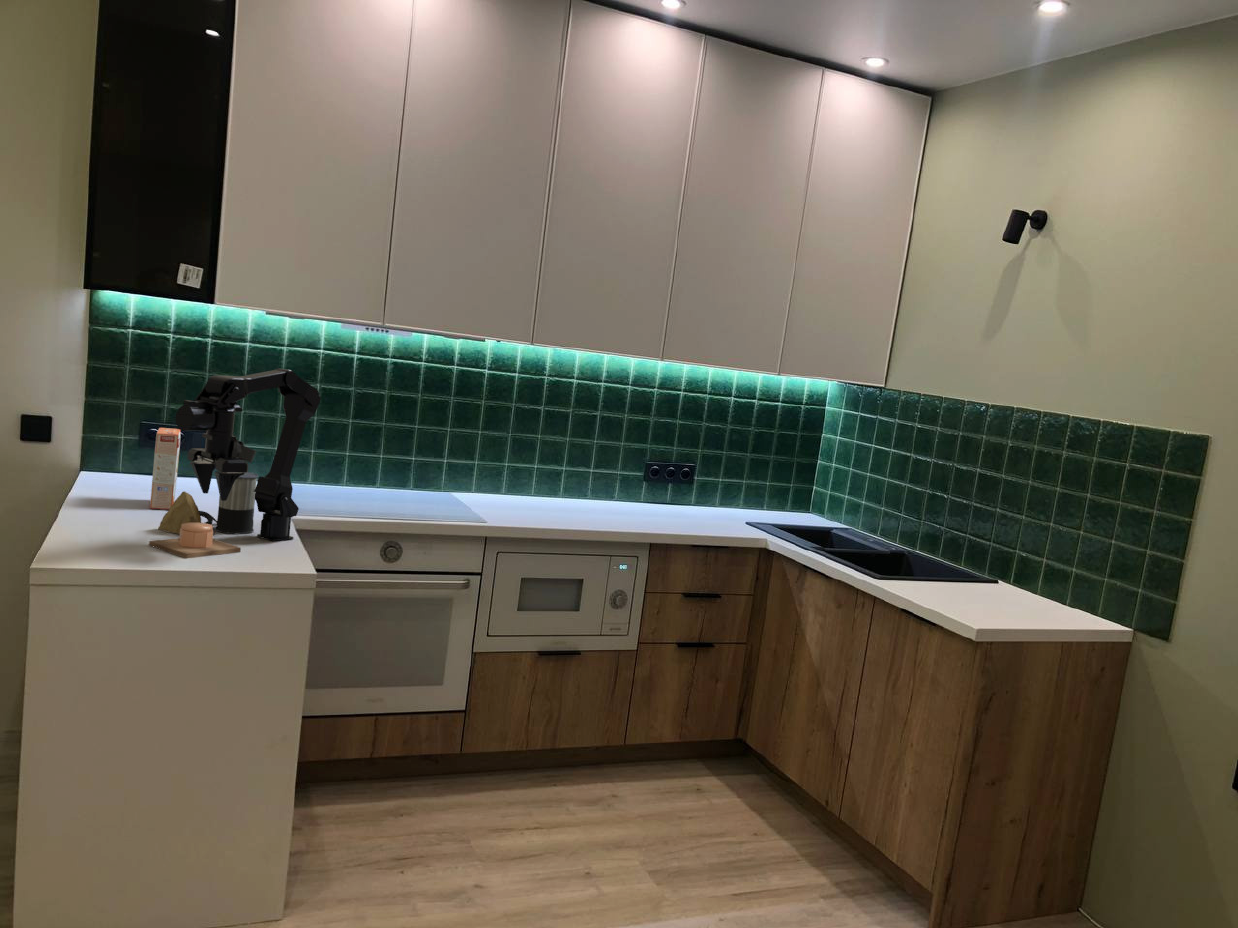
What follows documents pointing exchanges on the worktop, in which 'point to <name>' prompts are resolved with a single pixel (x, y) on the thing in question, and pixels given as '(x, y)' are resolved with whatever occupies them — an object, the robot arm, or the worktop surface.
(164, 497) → the cracker box
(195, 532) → the cap
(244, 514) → the milk frother
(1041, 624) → the worktop surface
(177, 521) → the rock
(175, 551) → the wooden peg board
